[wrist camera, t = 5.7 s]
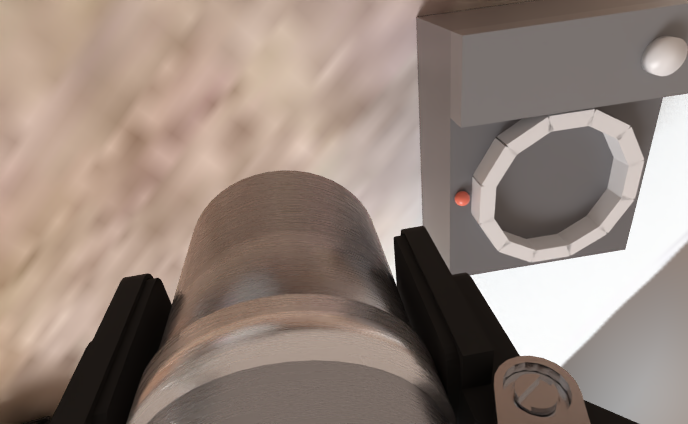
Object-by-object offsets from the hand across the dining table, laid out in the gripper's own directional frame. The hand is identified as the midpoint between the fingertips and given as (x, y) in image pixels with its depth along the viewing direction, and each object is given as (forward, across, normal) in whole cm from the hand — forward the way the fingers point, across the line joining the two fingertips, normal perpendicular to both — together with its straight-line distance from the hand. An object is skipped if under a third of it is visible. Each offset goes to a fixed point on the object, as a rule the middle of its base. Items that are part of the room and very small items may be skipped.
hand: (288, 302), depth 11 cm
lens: (+2, 0, 0) cm, 2 cm away
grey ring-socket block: (+18, -14, +4) cm, 23 cm away
